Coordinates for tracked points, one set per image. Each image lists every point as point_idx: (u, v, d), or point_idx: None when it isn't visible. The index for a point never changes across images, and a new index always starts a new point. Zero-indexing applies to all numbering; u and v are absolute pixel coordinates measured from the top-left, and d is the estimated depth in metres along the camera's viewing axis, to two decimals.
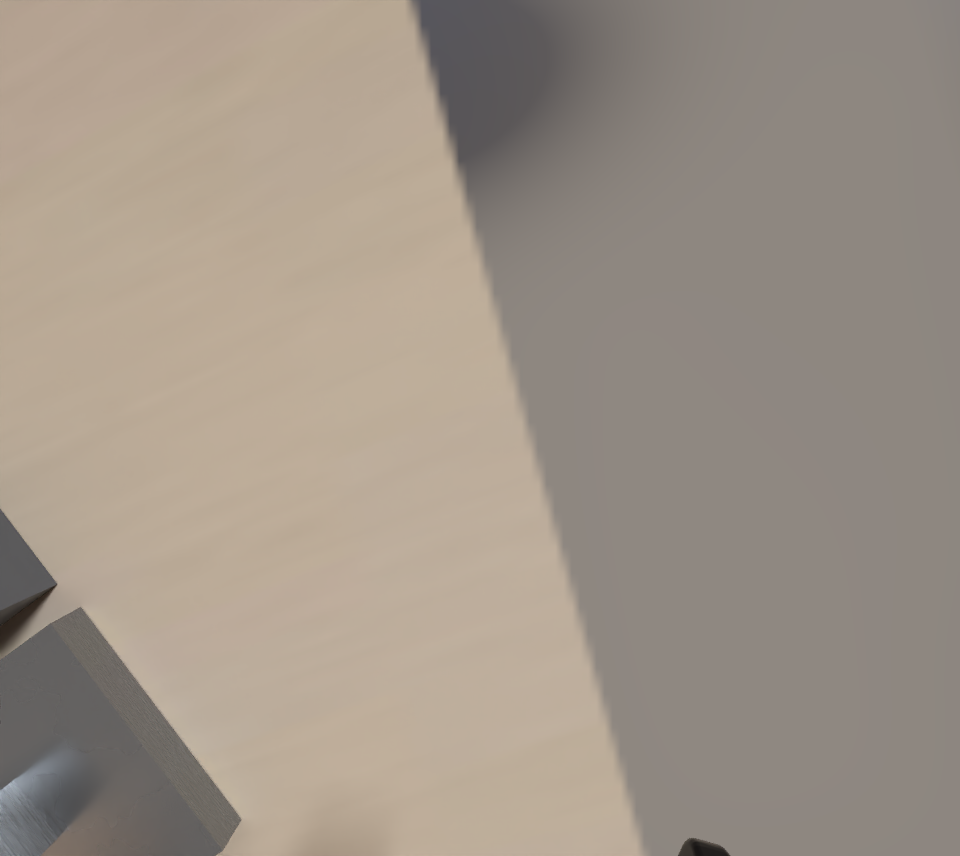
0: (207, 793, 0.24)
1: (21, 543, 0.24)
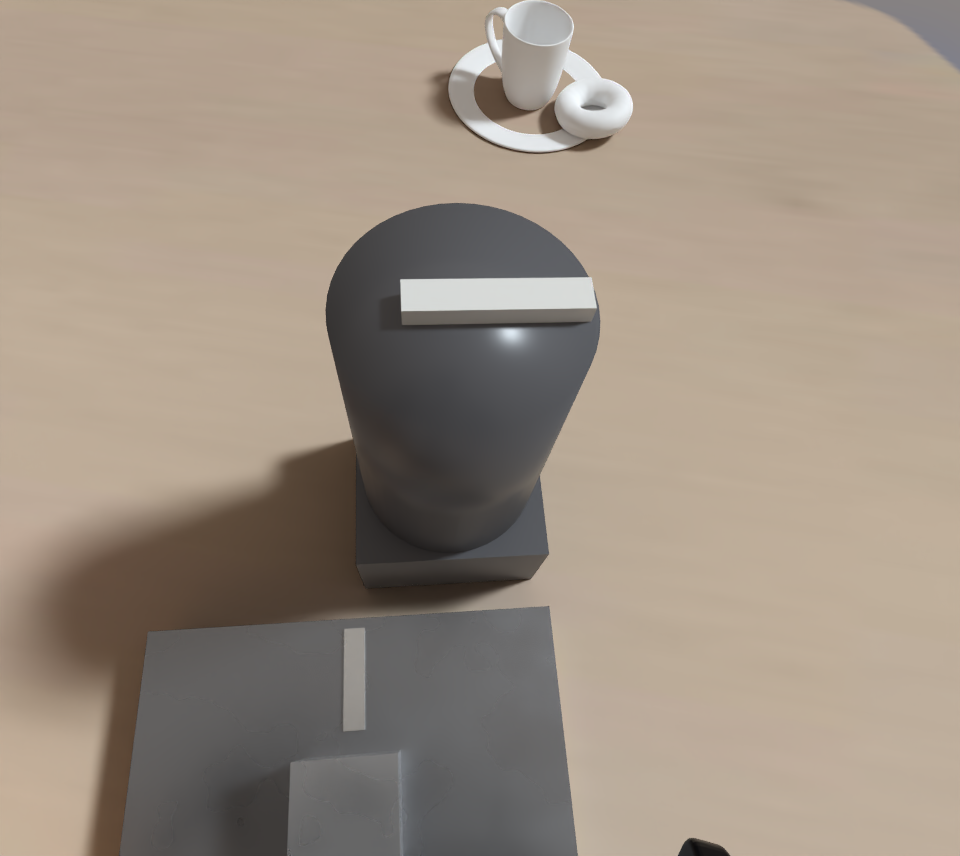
0: None
1: None
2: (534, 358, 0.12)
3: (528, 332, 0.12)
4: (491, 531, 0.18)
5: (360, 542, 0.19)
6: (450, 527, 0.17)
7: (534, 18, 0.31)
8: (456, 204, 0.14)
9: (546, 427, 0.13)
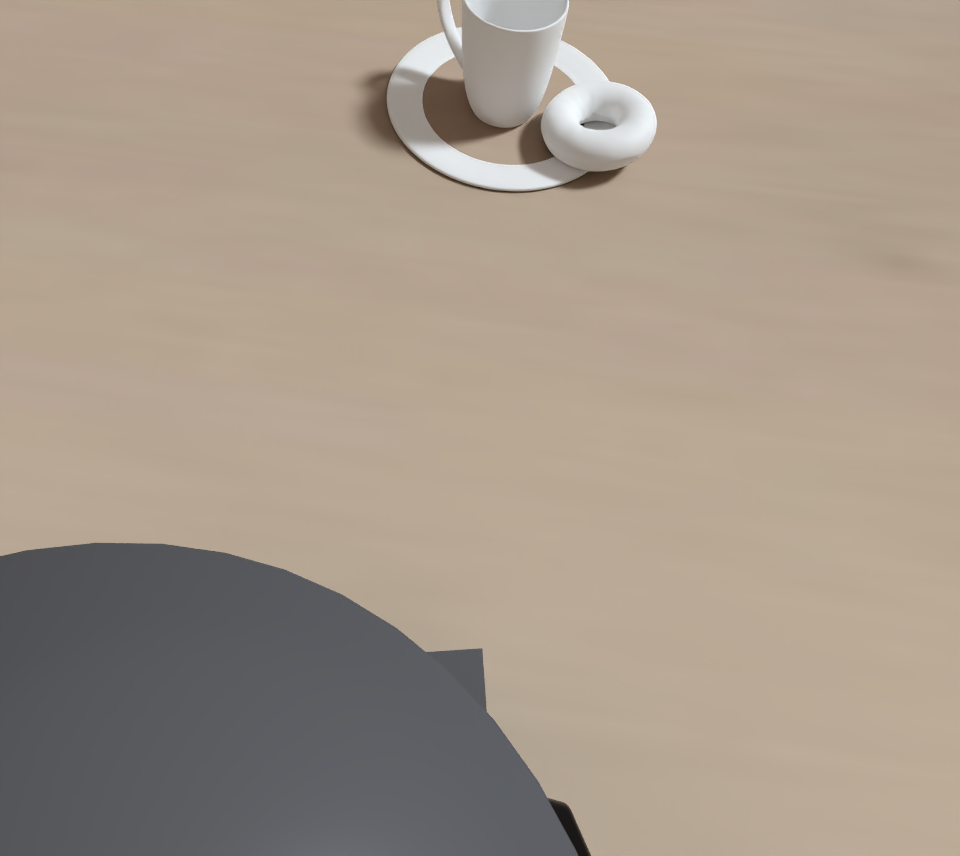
0: None
1: None
2: None
3: None
4: None
5: None
6: None
7: None
8: (93, 550, 0.03)
9: None
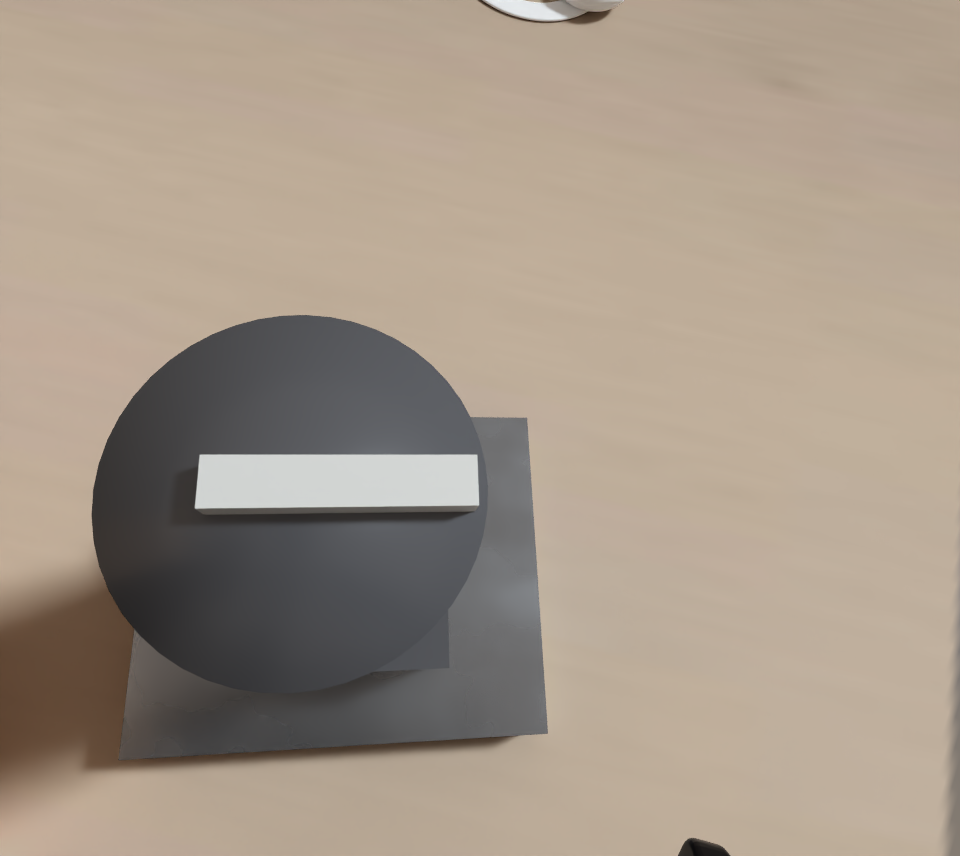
0: None
1: None
2: (388, 571, 0.09)
3: (385, 528, 0.09)
4: None
5: None
6: None
7: None
8: (306, 318, 0.10)
9: None
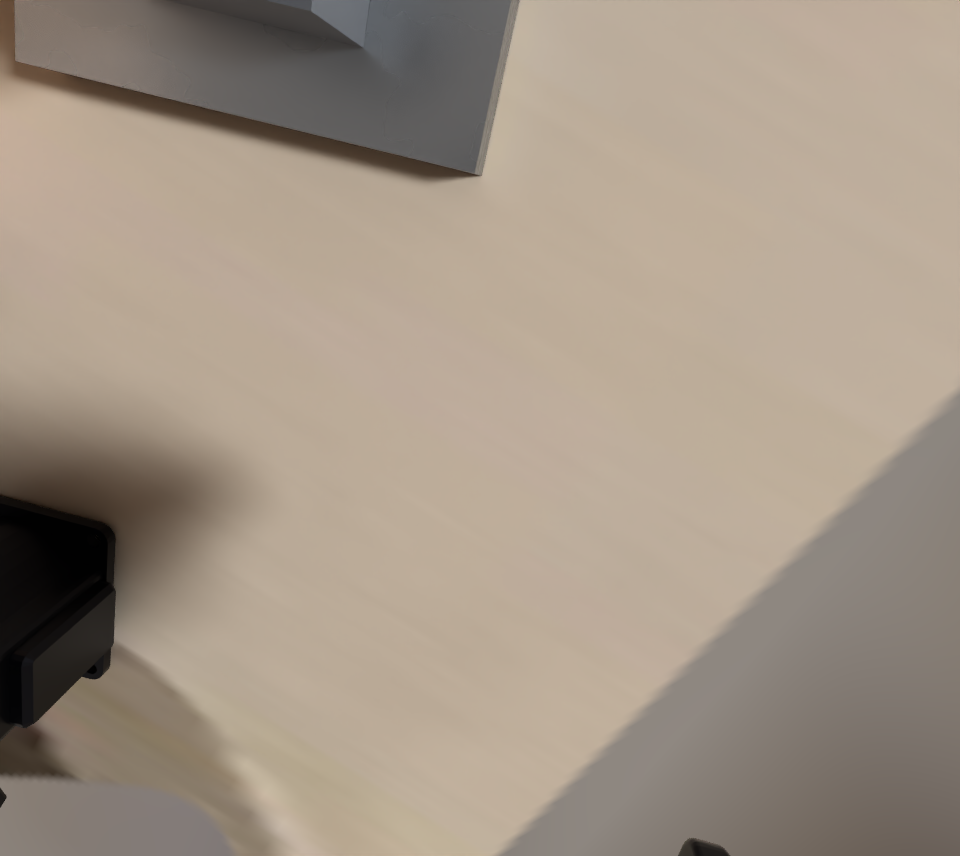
0: (494, 105, 0.17)
1: None
2: None
3: None
4: None
5: None
6: None
7: None
8: None
9: None
